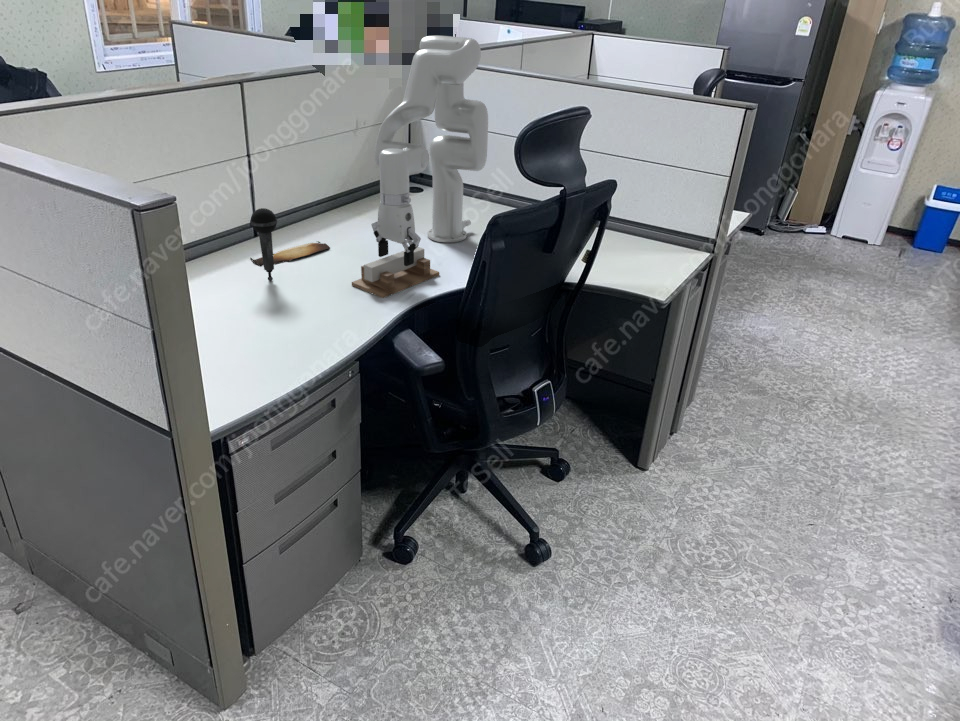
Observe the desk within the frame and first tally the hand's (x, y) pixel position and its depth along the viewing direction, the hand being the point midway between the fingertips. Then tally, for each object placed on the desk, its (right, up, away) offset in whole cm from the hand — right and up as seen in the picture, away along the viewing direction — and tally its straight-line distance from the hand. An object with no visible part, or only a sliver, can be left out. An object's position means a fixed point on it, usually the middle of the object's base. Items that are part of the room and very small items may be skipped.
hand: (396, 260), depth 195 cm
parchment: (-33, +4, +18) cm, 37 cm away
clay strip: (0, -3, +1) cm, 3 cm away
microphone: (-34, -6, -1) cm, 34 cm away
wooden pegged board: (0, -5, +3) cm, 6 cm away
